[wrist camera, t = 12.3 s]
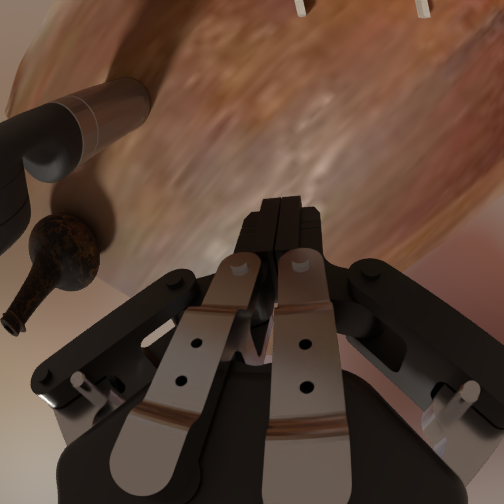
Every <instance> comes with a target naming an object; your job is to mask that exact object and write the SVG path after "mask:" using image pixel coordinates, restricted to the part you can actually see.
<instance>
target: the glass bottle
mask: <svg viewBox="0 0 504 504" xmlns="http://www.w3.org/2000/svg"><path fill="white" fill-rule="evenodd" d="M29 255H30V258H31V261H32V263H33V265H32V268H31V270H30V273H29V275H28V277H27V278H26V280H25V282H24V284H23V285H22V287H21V289H20V291H19V292H18V294H17V296H16V297H15V299H14V301H13V302H12V304H11V305H10V307H9V308H8V310H7V311H6V313H3V317H2V318H1V319H0V320H1V323H2V325H3V326H4V328H5V329H6V330H7V331H8V332H9V333H10V334H12V335H13V336H18V335H19V333H20V332H25V331H26V328H25V323H26V322H27V320H28V319H29V317H30V316H31V315H32V313H33V312H34V311H35V309H36V308H37V307H38V306H39V305H40V303H41V302H42V301H43V300H44V299H45V298H46V296H47V295H48V294H49V293H50V292H51V291H52V290H53V289H54V288H59V289H61V290H65V291H78V290H81V289H83V288H85V287H87V286H88V285H89V284H90V283H91V282H92V281H93V280H94V278H95V276H96V274H97V272H98V269H99V265H100V253H99V248H98V244H97V241H96V239H95V237H94V235H93V233H92V232H91V230H90V229H89V228H88V227H87V226H86V225H85V224H84V223H83V222H82V221H81V220H79V219H78V218H76V217H74V216H71V215H68V214H61V213H58V214H52V215H49V216H46V217H45V218H43V219H41V220H40V221H39V222H38V223H37V224H36V225H35V226H34V228H33V230H32V232H31V235H30V238H29Z"/></svg>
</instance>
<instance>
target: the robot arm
mask: <svg viewBox="0 0 504 504" xmlns="http://www.w3.org/2000/svg"><path fill="white" fill-rule="evenodd" d="M149 111H150V98H149V94H148V92H147V90H146V88H145V87H144V86H143V85H142V84H141V83H140V82H139V81H137V80H135V79H132V78H121V79H117V80H113V81H110V82H106V83H102V84H99V85H96V86H93V87H90V88H86V89H83V90H81V91H78V92H75V93H72V94H69V95H66V96H64V97H61V98H59V99H56V100H54V101H51V102H49V103H46V104H44V105H42V106H39V107H37V108H34V109H31V110H29V111H26V112H23V113H21V114H18V115H16V116H14V117H12V118H10V119H8V120H6V121H3V122H1V123H0V256H1V255H2V254H3V253H4V252H5V251H6V250H7V249H8V248H10V247H11V246H12V245H13V244H14V243H15V241H17V240H18V239H19V238H20V236H21V235H22V234H23V233H24V231H25V230H26V228H27V226H28V224H29V222H30V217H31V207H30V200H29V195H28V189H27V184H26V178H25V172H24V168H25V169H26V170H27V171H28V172H29V173H30V174H31V175H32V176H33V177H34V178H36V179H37V180H39V181H42V182H46V183H53V182H57V181H59V180H61V179H63V178H64V177H66V176H67V175H68V174H70V173H71V172H72V171H73V170H75V169H76V168H78V167H79V166H80V165H82V164H83V163H85V162H86V161H87V160H89V159H90V158H91V157H93V156H94V155H96V154H97V153H99V152H100V151H102V150H103V149H105V148H106V147H108V146H109V145H111V144H112V143H114V142H116V141H117V140H119V139H120V138H122V137H124V136H125V135H127V134H129V133H130V132H132V131H133V130H135V129H137V128H138V127H140V126H141V125H142V124H143V123H144V122H145V120H146V119H147V117H148V114H149ZM274 303H278V307H277V308H275V309H274ZM273 309H274V317H273ZM170 319H172V321H173V323H174V324H175V327H174V328H173V329H171V330H170V331H169V332H167V333H166V334H164V335H163V336H162V337H160V338H159V339H158V340H156V341H155V342H154V343H152V344H151V345H150V346H148V347H145V348H143V347H141V342H142V341H143V339H144V338H145V337H147V336H148V335H149V334H150V333H152V332H153V331H155V330H156V329H157V328H159V327H160V326H161V325H163V324H164V323H166V322H167V321H168V320H170ZM273 321H274V326H273ZM272 326H273V353H272V363H268V364H264V360H265V356H266V352H267V348H268V343H269V339H270V335H271V330H272ZM337 333H339V334H344V335H346V339H347V340H348V342H349V343H350V344H351V345H352V346H353V347H354V348H356V349H357V350H358V351H359V352H360V353H361V354H362V355H363V356H364V357H365V358H366V359H368V360H369V361H370V362H371V363H372V364H373V365H374V366H375V367H376V368H377V369H378V370H379V371H381V372H382V373H383V374H384V375H385V376H386V377H387V378H388V379H389V380H390V381H391V382H393V383H394V384H395V385H396V386H397V387H398V388H399V389H400V390H401V391H402V392H403V393H405V394H406V395H407V396H408V397H409V398H410V399H411V400H412V401H413V402H414V403H415V404H416V405H418V406H419V407H420V408H421V409H422V410H423V411H424V413H423V416H422V422H421V423H422V430H423V432H424V434H425V436H426V437H427V438H428V440H429V441H430V443H431V446H432V448H431V447H430V446H429V445H428V444H427V443H426V442H425V441H424V440H423V439H422V438H421V437H420V436H419V435H418V434H417V433H416V432H415V431H414V430H413V429H412V428H411V427H410V426H409V425H408V424H407V423H406V421H405V420H404V419H403V418H402V417H401V416H400V415H399V414H398V413H397V412H396V411H395V410H394V409H393V408H392V407H391V406H390V405H389V404H388V403H387V402H386V401H385V400H384V398H383V397H382V396H381V395H380V394H379V393H378V392H377V391H376V390H375V389H374V388H373V387H372V386H371V385H370V384H369V383H367V382H366V381H365V380H364V379H362V378H360V377H359V376H357V375H355V374H353V373H351V372H348V371H345V370H342V369H341V362H340V354H339V346H338V338H337ZM31 389H32V391H33V392H34V393H35V394H36V395H37V396H39V397H40V398H41V399H42V400H44V401H45V402H46V403H47V404H48V405H49V406H50V407H51V408H52V409H53V410H54V413H55V416H56V419H57V421H58V424H59V427H60V429H61V432H62V434H63V437H64V440H65V442H66V444H67V447H66V448H65V450H64V451H63V453H62V454H61V456H60V458H59V461H58V464H57V469H56V480H57V489H58V504H468V496H467V491H466V488H465V487H466V486H467V485H468V484H469V482H470V481H471V480H472V479H473V478H474V477H475V475H476V474H477V473H478V472H479V470H480V469H481V468H482V467H483V465H484V464H485V463H486V461H487V460H488V459H489V457H490V456H491V455H492V453H493V452H494V451H495V449H496V448H497V446H498V445H499V443H500V442H501V440H502V439H503V437H504V345H502V344H501V343H500V342H498V341H497V340H496V339H495V338H493V337H492V336H491V335H489V334H488V333H487V332H485V331H484V330H483V329H481V328H480V327H479V326H477V325H476V324H475V323H473V322H472V321H471V320H469V319H468V318H466V317H465V316H464V315H462V314H461V313H460V312H458V311H457V310H455V309H454V308H453V307H451V306H450V305H448V304H447V303H445V302H444V301H443V300H441V299H440V298H438V297H437V296H435V295H434V294H432V293H431V292H429V291H428V290H427V289H425V288H424V287H422V286H421V285H419V284H418V283H416V282H415V281H413V280H412V279H410V278H409V277H407V276H406V275H404V274H403V273H401V272H400V271H398V270H397V269H395V268H393V267H392V266H390V265H389V264H387V263H386V262H384V261H381V260H378V259H373V258H368V259H362V260H359V261H356V262H355V263H353V264H352V265H351V266H350V268H349V269H347V268H342V267H338V266H335V265H333V264H331V263H329V262H328V261H327V260H326V259H325V257H324V255H323V246H322V232H321V219H320V212H319V211H318V210H317V209H316V208H315V207H302V203H301V197H300V196H290V197H282V198H281V197H279V198H269V199H263V201H262V205H261V209H260V211H258V212H251V213H250V214H249V215H248V216H247V217H246V218H245V219H244V222H243V225H242V229H241V231H240V235H239V237H238V240H237V244H236V247H235V250H234V253H233V254H232V255H230V256H228V257H226V258H225V259H224V260H223V261H222V262H221V263H220V265H219V267H218V269H217V271H216V273H215V274H212V275H208V276H205V277H201V278H197V279H196V277H195V275H194V273H193V272H192V271H190V270H188V269H177V270H173V271H171V272H169V273H167V274H165V275H164V276H162V277H161V278H159V279H158V280H157V281H155V282H154V283H152V284H151V285H149V286H148V287H146V288H145V289H144V290H142V291H141V292H139V293H138V294H136V295H135V296H133V297H132V298H131V299H129V300H128V301H126V302H125V303H124V304H122V305H121V306H119V307H118V308H116V309H115V310H114V311H112V312H111V313H109V314H108V315H107V316H105V317H104V318H103V319H101V320H100V321H98V322H97V323H95V324H94V325H93V326H91V327H90V328H89V329H87V330H86V331H84V332H83V333H82V334H80V335H79V336H78V337H76V338H75V339H73V340H72V341H71V342H70V343H68V344H67V345H65V346H64V347H63V348H61V349H60V350H59V351H57V352H56V353H55V354H53V355H52V356H51V357H49V358H48V359H46V360H45V361H44V362H43V363H42V364H40V365H39V366H38V367H37V368H36V369H35V371H34V373H33V375H32V378H31Z"/></svg>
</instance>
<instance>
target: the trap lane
mask: <svg viewBox="0 0 504 504" xmlns="http://www.w3.org/2000/svg"><path fill="white" fill-rule="evenodd" d="M415 3H416V8H417V13H418V18H429V17H430V12H429V6H428V2H427V0H415ZM295 5H296V9H297V13H298V17H304V16H306V11H305V7H304V3H303V0H295Z"/></svg>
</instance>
